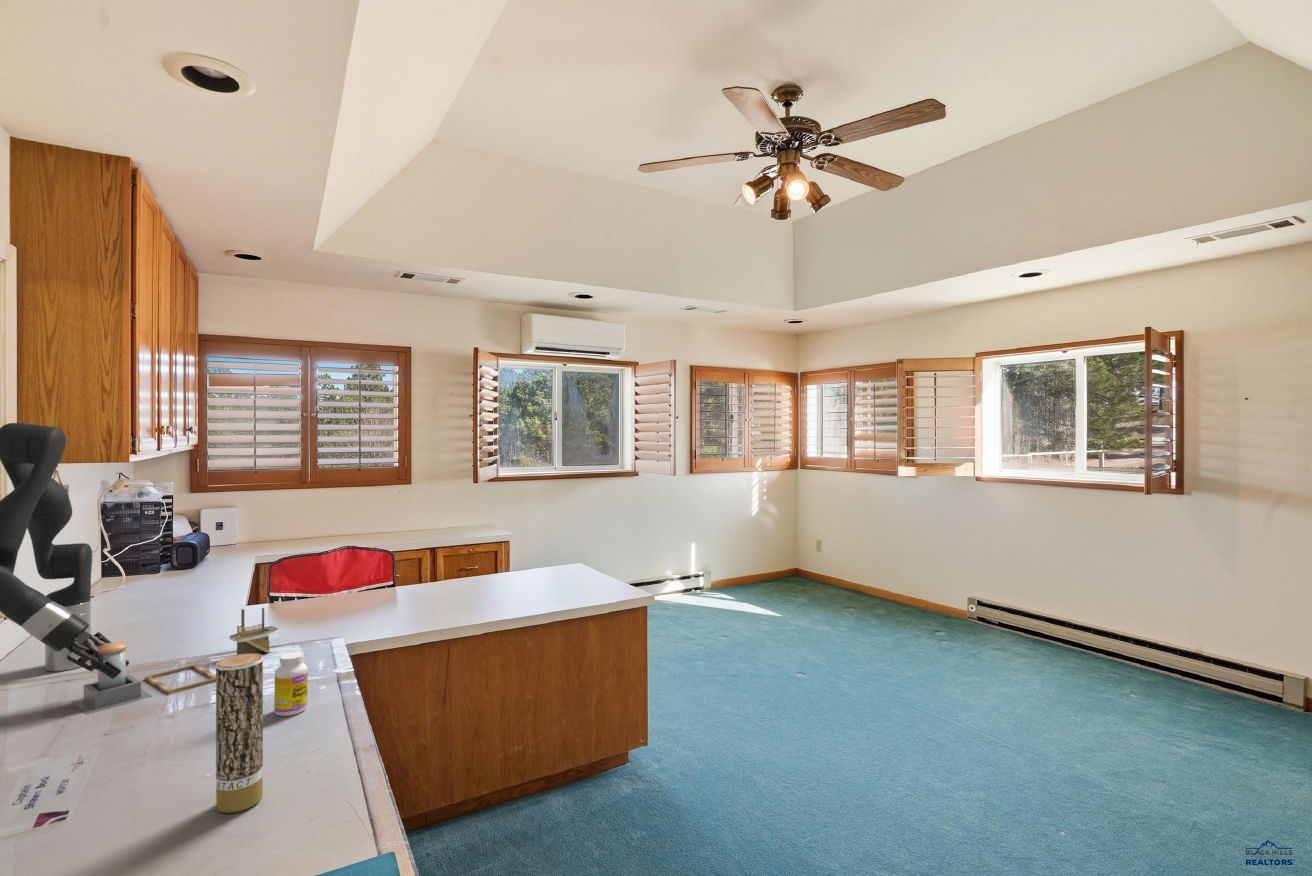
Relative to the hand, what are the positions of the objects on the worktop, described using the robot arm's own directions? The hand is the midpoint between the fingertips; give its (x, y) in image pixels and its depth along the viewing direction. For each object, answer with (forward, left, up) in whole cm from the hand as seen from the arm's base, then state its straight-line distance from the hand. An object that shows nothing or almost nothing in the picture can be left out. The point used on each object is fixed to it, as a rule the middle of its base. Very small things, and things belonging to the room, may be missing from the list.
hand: (121, 670), depth 151 cm
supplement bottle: (+36, +22, -8) cm, 43 cm away
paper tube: (+67, -1, -8) cm, 68 cm away
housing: (-1, -1, -8) cm, 8 cm away
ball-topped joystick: (-1, -2, -5) cm, 5 cm away
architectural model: (-10, +33, -8) cm, 35 cm away
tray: (-1, +13, -8) cm, 15 cm away
